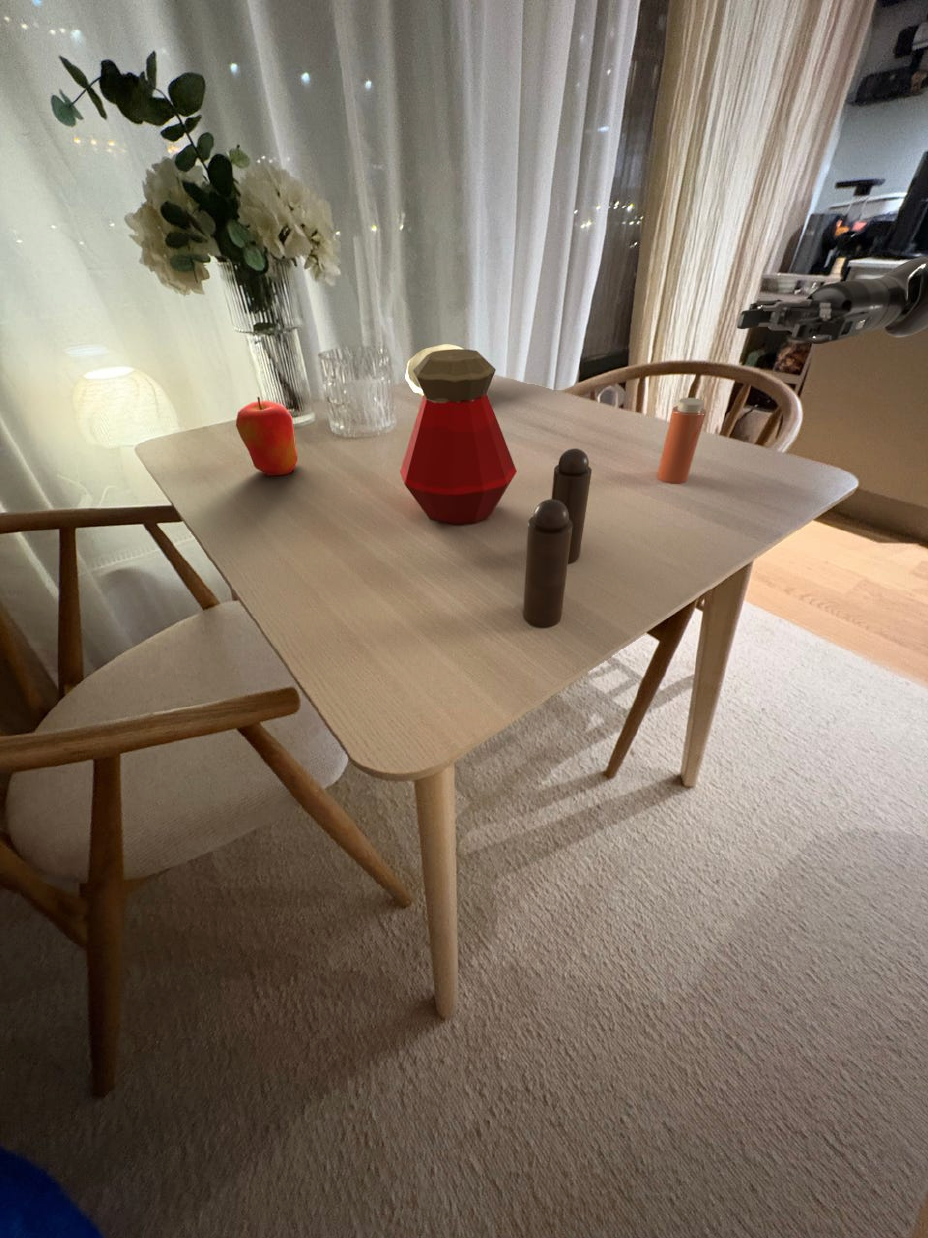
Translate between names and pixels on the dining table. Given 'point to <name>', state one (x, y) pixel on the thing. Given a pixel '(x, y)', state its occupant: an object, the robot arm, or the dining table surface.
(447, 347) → the bowl
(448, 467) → the bottle
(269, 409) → the apple
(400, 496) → the dining table surface
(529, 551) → the post
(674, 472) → the shaker
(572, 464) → the post
